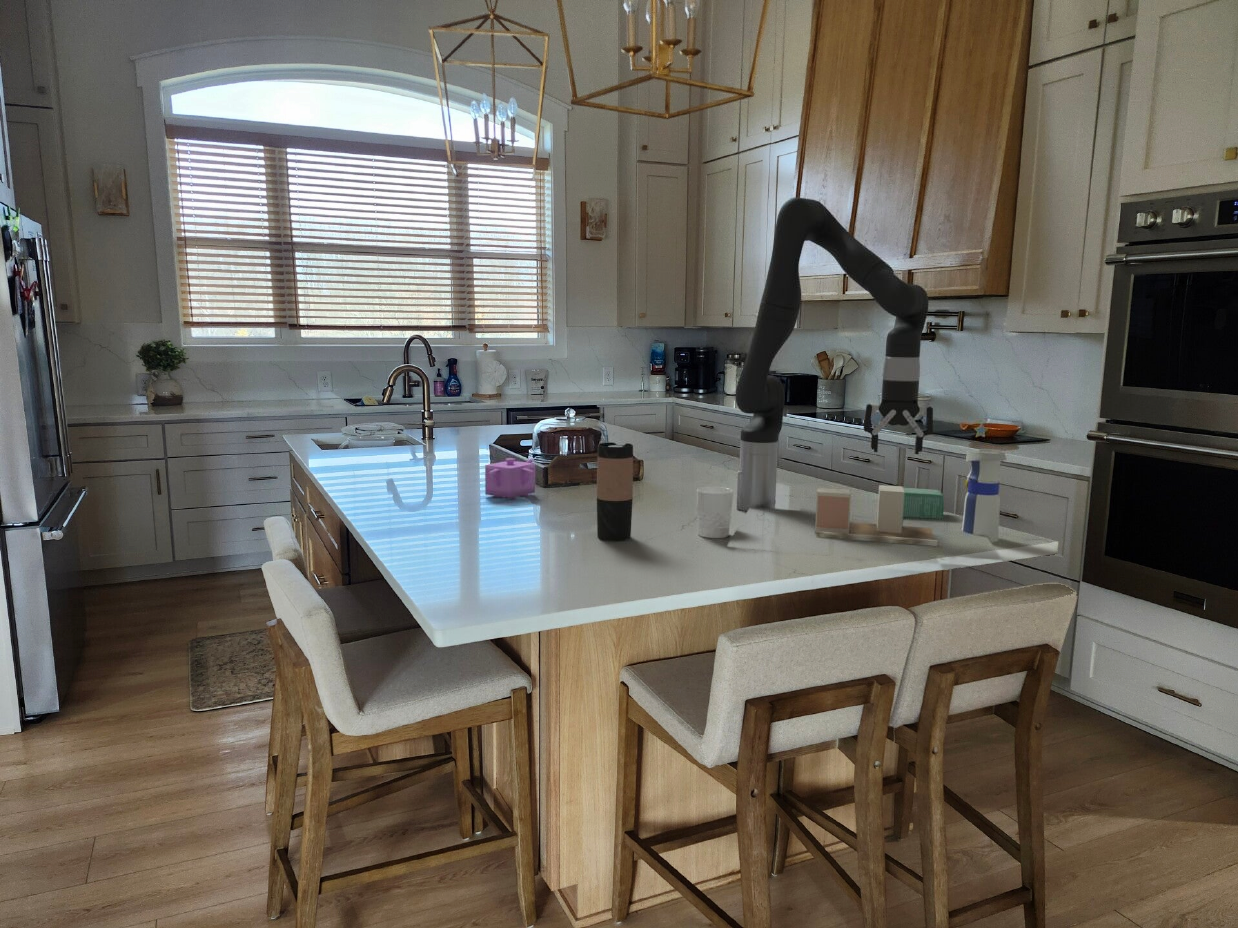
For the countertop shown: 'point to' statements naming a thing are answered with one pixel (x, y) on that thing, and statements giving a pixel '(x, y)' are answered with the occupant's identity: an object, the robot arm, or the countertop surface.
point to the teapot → (510, 478)
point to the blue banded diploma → (983, 492)
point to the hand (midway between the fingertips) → (896, 452)
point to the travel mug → (614, 491)
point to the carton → (890, 509)
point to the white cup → (714, 511)
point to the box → (923, 503)
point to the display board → (884, 534)
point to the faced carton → (833, 510)
